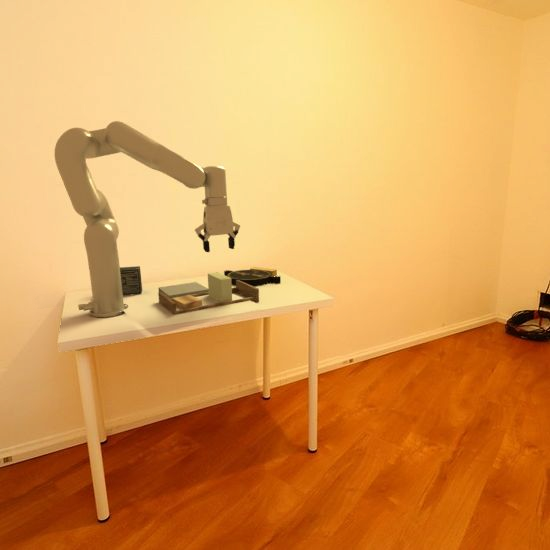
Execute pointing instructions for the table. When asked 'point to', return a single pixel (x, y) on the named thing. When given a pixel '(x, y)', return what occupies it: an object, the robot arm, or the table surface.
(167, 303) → the frame
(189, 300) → the upper offcut
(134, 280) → the small box
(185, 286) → the grey board
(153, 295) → the table surface
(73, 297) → the table surface
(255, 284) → the decorative sign
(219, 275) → the pale green block
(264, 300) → the table surface
